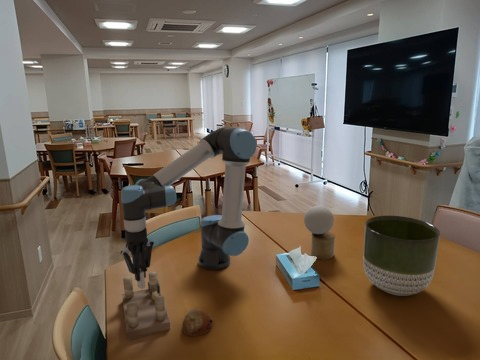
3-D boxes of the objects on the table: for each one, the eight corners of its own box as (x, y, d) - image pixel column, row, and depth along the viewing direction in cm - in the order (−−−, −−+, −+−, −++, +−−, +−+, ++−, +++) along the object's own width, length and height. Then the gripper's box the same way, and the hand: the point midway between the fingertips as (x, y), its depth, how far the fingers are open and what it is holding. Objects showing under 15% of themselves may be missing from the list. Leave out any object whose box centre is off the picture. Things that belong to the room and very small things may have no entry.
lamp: (300, 257, 169) (301, 209, 163) (306, 246, 182) (307, 200, 176) (331, 262, 164) (334, 212, 158) (335, 250, 176) (338, 203, 170)
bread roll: (189, 327, 125) (178, 310, 123) (214, 315, 124) (204, 297, 122) (187, 346, 115) (176, 328, 113) (215, 333, 115) (204, 315, 113)
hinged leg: (160, 300, 129) (158, 282, 127) (151, 302, 128) (149, 283, 126) (158, 288, 137) (156, 271, 136) (149, 289, 136) (148, 272, 135)
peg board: (122, 300, 135) (120, 276, 132) (158, 293, 140) (157, 269, 137) (127, 340, 113) (124, 311, 110) (170, 329, 118) (168, 301, 115)
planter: (425, 277, 149) (433, 219, 143) (437, 313, 125) (447, 244, 118) (360, 268, 158) (364, 212, 151) (360, 300, 133) (365, 235, 127)
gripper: (144, 221, 131) (150, 276, 137) (113, 231, 122) (120, 291, 127) (156, 225, 126) (161, 283, 132) (125, 236, 117) (132, 298, 123)
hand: (141, 286), depth 130 cm, fingers closed
